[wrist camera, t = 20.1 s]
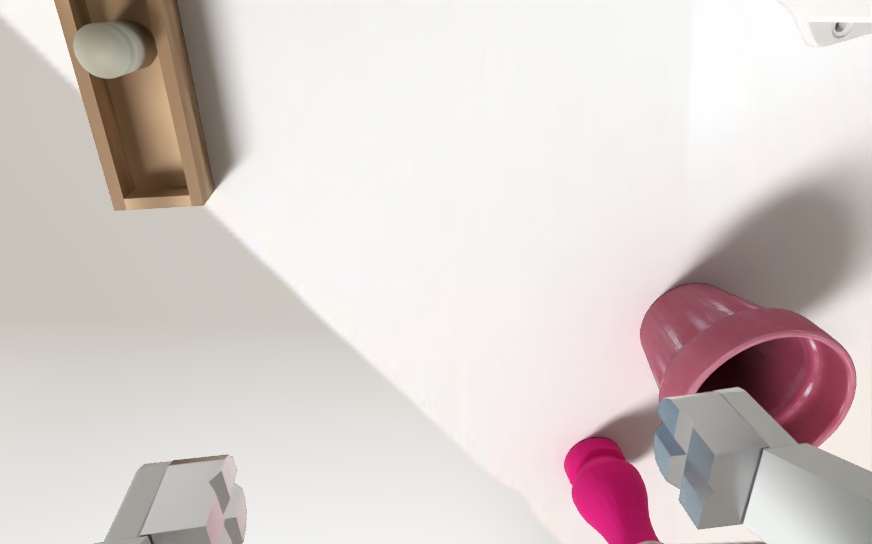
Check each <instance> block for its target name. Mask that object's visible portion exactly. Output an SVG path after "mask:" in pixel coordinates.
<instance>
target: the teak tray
mask: <svg viewBox="0 0 872 544" xmlns="http://www.w3.org/2000/svg"><path fill="white" fill-rule="evenodd" d="M54 2H55V5H56V9H57V12H58V15H59V19H60V22H61V26H62V29H63V33H64V36H65V40H66V43H67V47H68V50H69V54H70V57H71V61H72V64H73V68H74V71H75V75H76V78H77V82H78V85H79V89H80V92H81V96H82V99H83V102H84V106H85V109H86V113H87V116H88V120H89V123H90V127H91V130H92V134H93V137H94V141H95V144H96V148H97V151H98V155H99V158H100V162H101V165H102V169H103V172H104V175H105V179H106V183H107V186H108V189H109V193H110V196H111V200H112V203H113V207H114V210H115V211H116V210H134V209H151V208H169V207H186V206H203V205H204V204H205V203H206V201H207V200H208V199H209V197H210V196H211V195H212V193H213V192H214V191H215V189H214V184H213V179H212V174H211V170H210V165H209V160H208V155H207V150H206V145H205V140H204V135H203V130H202V125H201V120H200V115H199V110H198V105H197V100H196V95H195V90H194V85H193V80H192V75H191V70H190V65H189V60H188V55H187V50H186V45H185V40H184V35H183V30H182V25H181V20H180V15H179V10H178V5H177V0H54Z"/></svg>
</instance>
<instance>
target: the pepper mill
mask: <svg viewBox="0 0 872 544" xmlns="http://www.w3.org/2000/svg"><path fill="white" fill-rule="evenodd" d="M564 468H565V471H566V474H567V476H568V478H569V480H570V483H571V484H572V485H573V487H572V498H573V502H574V504H575V506H576V507H577V509H578V511H579V513H580V514H581V516H582V517H583V518H584V519H585V520H586V522H587V523H589V524H590V525H591V526H592V527H593V528H594V529H596V530H597V531H598V532H599V533H600V534H601V535H602V536H603V537H604V538H605V540H606V541H607V542H608V543H609V544H664V543H661V542H660V541H659V540H658V538H657V537H656V535H655V532H654V530H653V528H652V525H651V522H650V518H649V512H648V497H647V492H646V488H645V484H644V482H643V480H642V478H641V476H640V473H639V472H638V471H637V469H636V468H635V467H634V466H633V465H631V464H630V463H628V462H626V460H625V458H624V456H623V454H622V452H621V451H620V449H619V447H618V446H617V444H616V443H614V442H613V441H611V440H609V439H606V438H591V439H587V440H584V441H582V442H580V443H578V444H577V445H576V446H574V447H573V448H572V449H571V450H570V451H569V453H568V454H567V456H566V458H565V462H564Z"/></svg>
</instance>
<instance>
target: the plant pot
mask: <svg viewBox="0 0 872 544" xmlns="http://www.w3.org/2000/svg"><path fill="white" fill-rule="evenodd" d="M640 340H641V344H642V347H643V350H644V352H645V355H646V357H647V360H648V362H649V365H650V368H651V370H652V373H653V375H654V378H655V380H656V383H657V385H658V388H659V390H660V391H659V404H660V402H661V401H662V399H663V398H666V397H674V396H681V395H688V394H695V393H703V392H712V391H714V390H721V389H728V388H734V387H739V388H741V389H743V390H745V391H746V392H747V393H748V394H749V395H750V396H751V397H752V398H753V399H754V400H755V401H756V402H757V403H758V404H759V405H760V406H761V407H762V408H763V409H764V410H765V411H766V412H767V413H768V414H769V415H770V416H771V417H772V418H773V419H774V420H775V421H776V422H777V423H778V424H779V425H780V426H781V427H782V428H783V429H784V430H785V431H786V432H787V433H788V434H789V435H790V436H791V437H792V438H793V439H794V440H795V441H796V442H797V443H798V444H803V443H808V444H810V445H812V446H814V447H819V446H820V445H821V444H822V443H823V442H824V441H825V440H827V439H828V438H829V437H830V436H831V435H832V434H833V433H834V431H835V430H836V429H837V428H838V427H839V425H840V424H841V423H842V421H843V420H844V418H845V417H846V415H847V413H848V411H849V409H850V407H851V404H852V401H853V399H854V395H855V390H856V371H855V367H854V364H853V361H852V359H851V357H850V355H849V354H848V352H847V351H846V350H845V349H844V347H843V346H842V345H841V344H840V343H838V342H837V341H836V340H835V339H833V338H832V337H831V336H830V335H828V334H827V333H826V332H825V331H823V330H822V329H820V328H819V327H818V326H816V325H815V324H814V323H812V322H811V321H809V320H808V319H807V318H805V317H803V316H801V315H799V314H797V313H795V312H792V311H788V310H784V309H777V308H763V307H760V306H758V305H756V304H753V303H751V302H749V301H747V300H744V299H742V298H740V297H738V296H735V295H733V294H730V293H728V292H725V291H723V290H721V289H718V288H716V287H714V286H711V285H707V284H701V283H693V284H686V285H682V286H679V287H677V288H674V289H672V290H670V291H669V292H667V293H665V294H664V295H662V296H661V297H660V298H659V299H658V300H656V301H655V302H654V304H653V305H652V306H651V307H650V308H649V310H648V311H647V313H646V315H645V317H644V319H643V322H642V325H641V329H640Z"/></svg>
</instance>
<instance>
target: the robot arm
mask: <svg viewBox="0 0 872 544" xmlns="http://www.w3.org/2000/svg"><path fill="white" fill-rule="evenodd" d="M778 1H779V2H780V3H781V4H782V5H783V6H785V7H786V8H787V9H788V10H789V11H790V12H791V13H792V15H793V16H794V18H795V21H796V24H797V26H798V29H799V32H800V34H801V37H802V39H803V40H804V42H805V43H806V44H807V45H808V46H811V47H824V46H829V45H832V44H836V43H839V42H843V41H846V40H850V39H853V38H857V37H860V36H864V35H867V34H871V33H872V0H778ZM837 22H838V23H839V24H838V28H837V29H836V30H835V25H836V23H837ZM658 416H659V417H660V419H661V420H662V421H663V424H662V425H661V426H660V427H659V428H658V429H657V430H656V431H655V434H654V444H653V447H654V453H655V459H656V462H657V464H658V467H659V469H660V471H661V473H662V475H663V476H664V478H665V479H666V481H667V482H669V483H670V484H672V485H674V486H675V487H677V488H679V489H680V495H679V501H680V503H681V504H682V506H683V507H684V509H685V511H686V512H687V514H688V515H689V517H690V518H691V520H692V521H693V523H694V524H695V526H696V527H697V529H706V528H714V527H722V526H730V525H738V524H743V527H744V528H746V529H747V530H748V531H750V532H751V533H753V534H754V535H755V536H757V537H758V538H760V539H761V540H762V541H764V542H765V543H767V544H872V472H871V471H868V470H866V469H864V468H862V467H859V466H857V465H855V464H853V463H850V462H848V461H846V460H844V459H841V458H839V457H837V456H835V455H832V454H830V453H828V452H826V451H823V450H821V449H819V448H817V447H814V446H812V445H810V444H808V443H803V444H798V443H797V442H796V441H795V440H794V439H793V438H792V437H791V436H790V435H789V434H788V433H787V432H786V431H785V430H784V429H783V428H782V427H781V426H780V425H779V424H778V423H777V422H776V421H775V420H774V419H773V418H772V417H771V416H770V415H769V414H768V413H767V412H766V411H765V410H764V409H763V408H762V407H761V406H760V405H759V404H758V403H757V402H756V401H755V400H754V399H753V398H752V397H751V396H750V395H749V394H748V393H747V392H746V391H745V390H743V389H741V388H739V387H734V388H728V389H721V390H714V391H712V392H703V393H695V394H688V395H681V396H674V397H666V398H663V399H662V401H661V402H660V404H659V409H658ZM236 473H237V468H236V465H235V462H234V459H233V456H231V455H220V456H210V457H201V458H191V459H183V460H173V461H170V462H160V463H150V464H144V465H143V466H142V467H140V468H139V469H138V471H137V472H136V474H135V476H134V479H133V481H132V483H131V485H130V487H129V489H128V492H127V494H126V496H125V498H124V500H123V502H122V504H121V506H120V508H119V510H118V513H117V515H116V517H115V519H114V521H113V523H112V526H111V528H110V530H109V532H108V534H107V536H106V538H105V540H104V542H100V543H95V544H242V543H243V541H244V536H245V531H246V514H247V510H246V503H245V502H246V501H245V496H244V492H243V489H242V488H241V487H240V486H239V485H237V484H236V483H234V481H235V477H236Z"/></svg>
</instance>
